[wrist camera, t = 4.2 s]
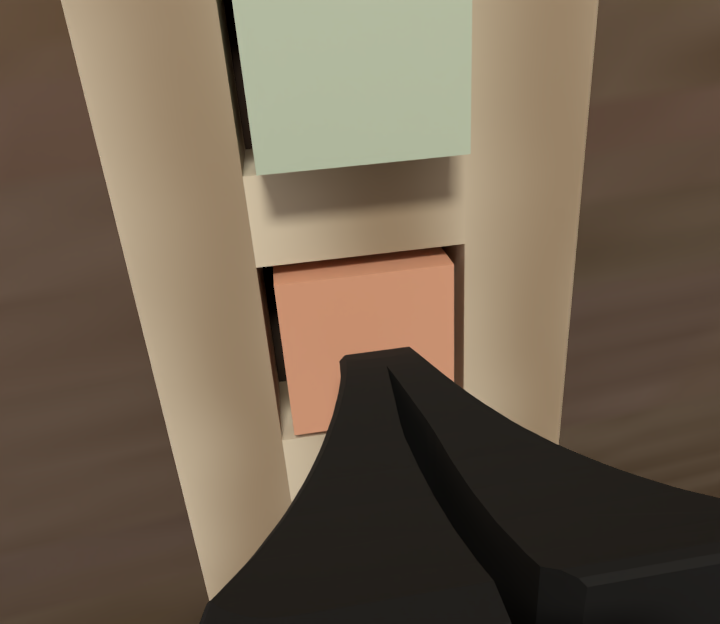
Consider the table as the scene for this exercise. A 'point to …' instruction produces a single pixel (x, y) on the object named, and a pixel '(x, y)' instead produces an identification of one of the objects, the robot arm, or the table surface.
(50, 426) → the table surface
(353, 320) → the key terracotta
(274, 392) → the keypad
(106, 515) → the table surface
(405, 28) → the key sage
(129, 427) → the table surface
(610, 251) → the table surface
